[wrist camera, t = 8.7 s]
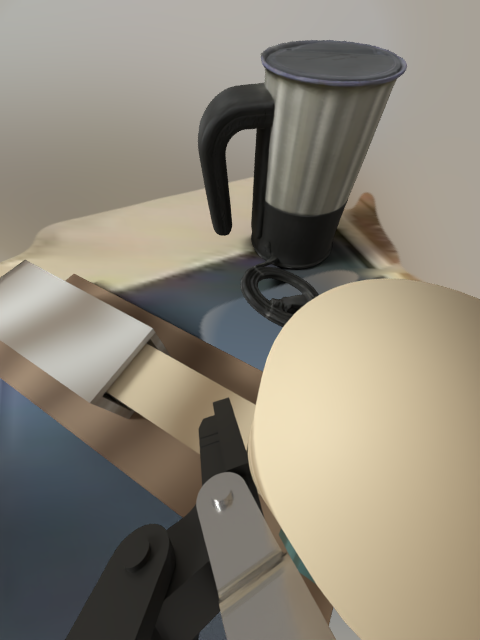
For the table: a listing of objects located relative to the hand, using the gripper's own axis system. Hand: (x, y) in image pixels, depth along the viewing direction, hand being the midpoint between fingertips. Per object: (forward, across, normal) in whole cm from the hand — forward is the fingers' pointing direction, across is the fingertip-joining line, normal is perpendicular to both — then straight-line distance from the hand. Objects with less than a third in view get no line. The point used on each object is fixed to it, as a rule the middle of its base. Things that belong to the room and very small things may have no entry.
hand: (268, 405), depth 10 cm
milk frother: (+16, -9, -4) cm, 19 cm away
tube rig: (+9, +6, +3) cm, 11 cm away
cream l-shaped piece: (+5, +3, +3) cm, 7 cm away
